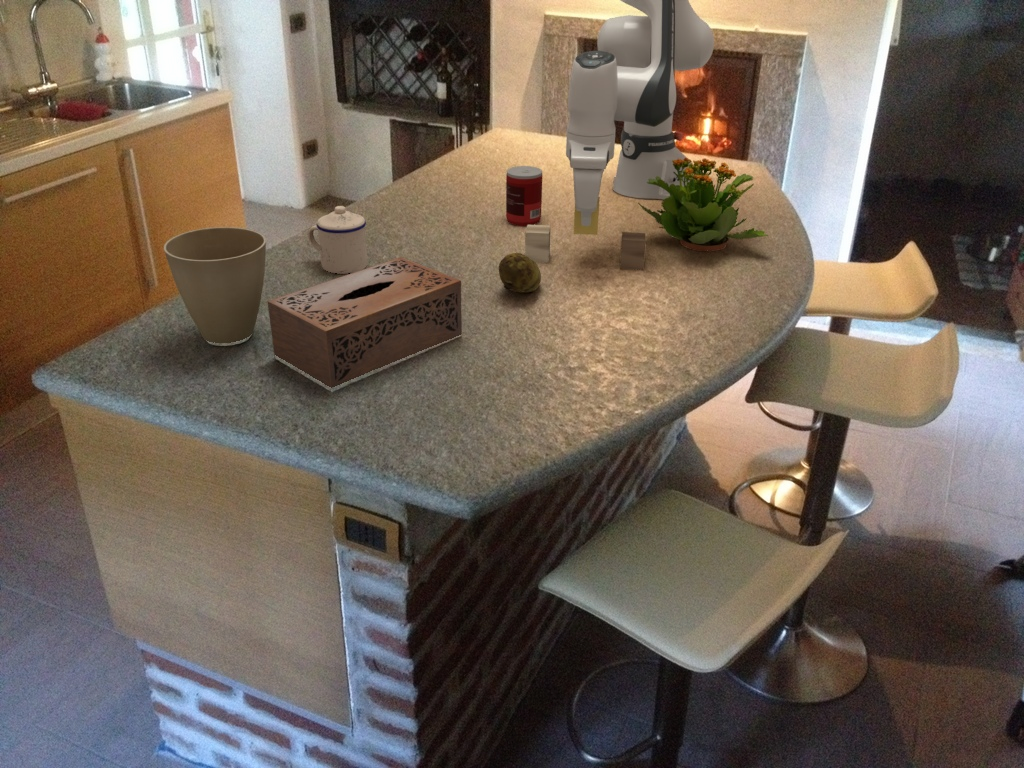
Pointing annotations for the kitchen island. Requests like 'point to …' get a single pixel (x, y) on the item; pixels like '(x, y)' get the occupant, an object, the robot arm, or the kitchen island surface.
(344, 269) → the teacup with lid
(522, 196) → the canned food
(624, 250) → the walnut block
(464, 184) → the kitchen island surface
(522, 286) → the potato
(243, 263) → the plant pot
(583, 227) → the mustard block
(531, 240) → the birch block
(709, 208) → the potted flower
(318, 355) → the tissue box cover
